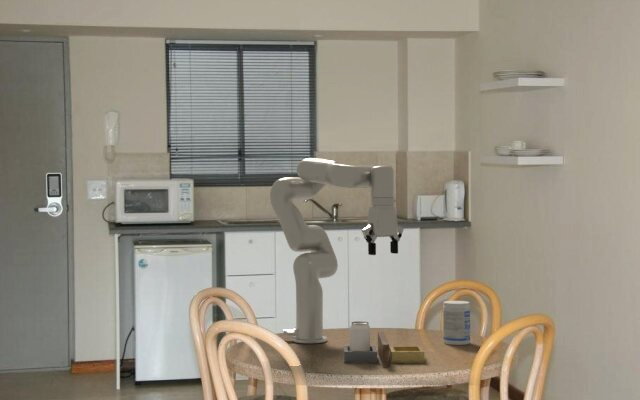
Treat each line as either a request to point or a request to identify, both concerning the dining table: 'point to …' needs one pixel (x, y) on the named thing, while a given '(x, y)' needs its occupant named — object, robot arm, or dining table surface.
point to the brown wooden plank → (383, 349)
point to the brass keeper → (406, 354)
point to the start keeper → (360, 355)
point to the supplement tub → (456, 322)
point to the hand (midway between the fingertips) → (383, 254)
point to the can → (359, 336)
